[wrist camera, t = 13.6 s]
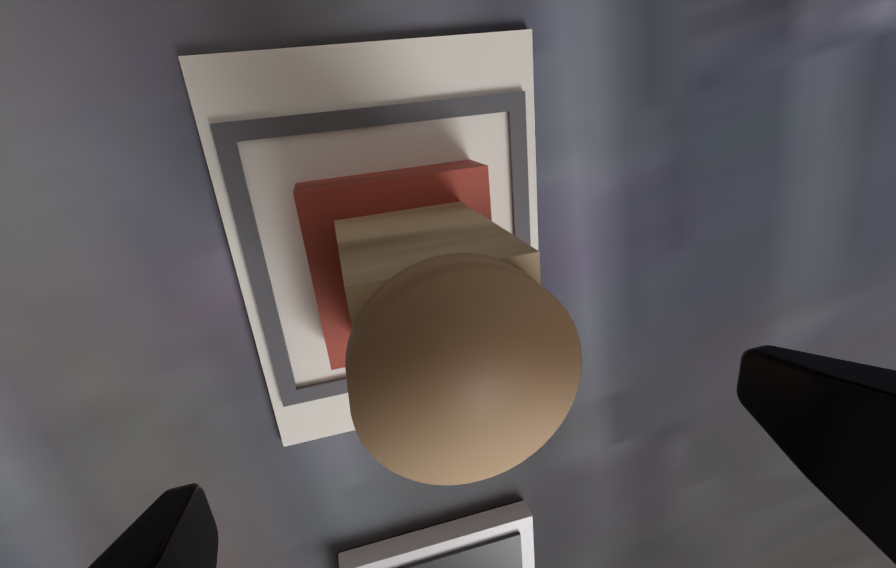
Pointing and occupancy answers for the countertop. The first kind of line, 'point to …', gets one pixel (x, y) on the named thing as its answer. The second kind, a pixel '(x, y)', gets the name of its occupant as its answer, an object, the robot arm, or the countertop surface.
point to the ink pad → (456, 544)
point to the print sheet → (348, 169)
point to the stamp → (437, 321)
